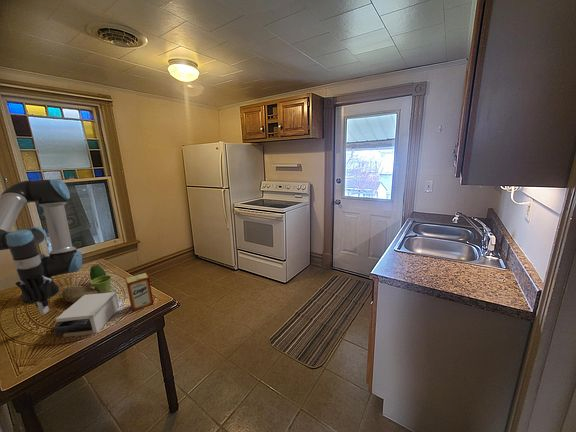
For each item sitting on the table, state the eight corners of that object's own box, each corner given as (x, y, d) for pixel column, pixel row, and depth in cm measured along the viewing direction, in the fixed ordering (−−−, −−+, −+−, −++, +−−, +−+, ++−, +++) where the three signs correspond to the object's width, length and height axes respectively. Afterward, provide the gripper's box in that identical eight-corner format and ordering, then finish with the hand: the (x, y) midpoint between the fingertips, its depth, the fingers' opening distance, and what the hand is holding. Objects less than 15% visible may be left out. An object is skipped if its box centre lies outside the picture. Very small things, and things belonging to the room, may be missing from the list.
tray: (55, 334, 106) (53, 328, 106) (74, 316, 118) (73, 311, 117) (95, 330, 108) (93, 324, 108) (110, 313, 120) (109, 308, 119)
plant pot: (103, 298, 133) (99, 284, 131) (89, 296, 135) (86, 282, 133) (118, 289, 142) (115, 276, 139) (105, 287, 144) (102, 274, 142)
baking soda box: (132, 311, 121) (126, 282, 117) (130, 305, 126) (125, 277, 122) (153, 303, 127) (148, 276, 123) (151, 298, 132) (146, 271, 128)
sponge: (60, 301, 133) (68, 307, 121) (60, 287, 133) (67, 291, 121) (90, 295, 144) (100, 299, 131) (90, 281, 144) (100, 285, 131)
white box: (59, 337, 104) (54, 319, 102) (88, 310, 123) (84, 294, 120) (96, 333, 106) (91, 315, 104) (119, 307, 125) (115, 292, 122)
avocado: (88, 284, 148) (84, 266, 145) (101, 278, 155) (97, 261, 152) (98, 286, 146) (93, 268, 143) (110, 280, 153) (106, 262, 150)
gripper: (3, 271, 99) (21, 319, 106) (39, 268, 101) (54, 316, 107) (20, 262, 106) (35, 308, 113) (53, 260, 108) (66, 305, 114)
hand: (44, 312), depth 110 cm, fingers closed
